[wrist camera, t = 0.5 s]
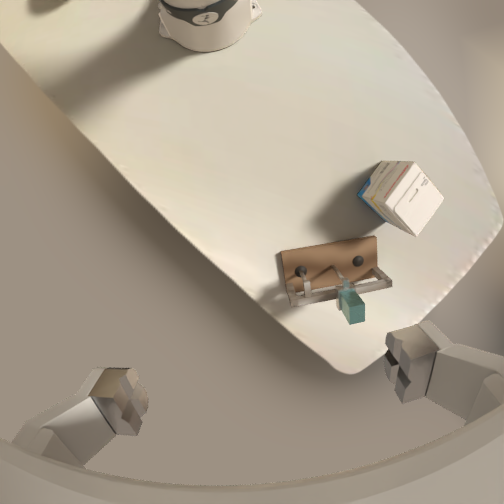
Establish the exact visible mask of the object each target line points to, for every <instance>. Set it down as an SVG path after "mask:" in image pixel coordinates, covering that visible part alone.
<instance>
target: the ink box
mask: <svg viewBox="0 0 504 504" xmlns="http://www.w3.org/2000/svg"><path fill="white" fill-rule="evenodd" d="M357 196H358V197H360V198H361V199H362V200H363V201H364V202H365V203H366V204H367V205H368V206H369V207H370V208H371V209H372V210H373V211H375V212H376V213H377V214H378V215H379V216H380V217H381V218H382V219H384V220H385V221H386V222H388V223H390V224H392V225H394V226H396V227H398V228H399V229H401V230H403V231H405V232H407V233H409V234H411V235H413V236H415V237H417V235H418V234H419V233H420V231H421V230H422V229H423V227H424V226H425V225H426V223H427V222H428V221H429V219H430V218H431V217H432V215H433V214H434V213H435V211H436V210H437V208H438V207H439V206H440V204H441V203H442V201H443V200H444V198H443V196H442V195H441V193H440V192H439V190H438V189H437V188H436V186H435V185H434V184H433V182H432V181H431V180H430V179H429V177H428V176H427V175H426V174H425V173H424V172H423V170H422V169H421V168H420V167H419V166H418V165H417V164H416V162H411V161H381V163H380V164H379V166H378V167H377V168H376V170H375V171H374V172H373V174H372V175H371V177H370V178H369V179H368V181H367V182H366V184H365V185H364V186H363V188H362V189H361V190H360V192H359V193H358V194H357Z"/></svg>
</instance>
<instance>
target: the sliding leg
mask: <svg viewBox="0 0 504 504" xmlns="http://www.w3.org/2000/svg"><path fill="white" fill-rule="evenodd" d="M332 269H333V270H334V271H335V273H336V274H337V276H338V277H339V278H340V280H341V281H342V286H336V287H335V288H336V306H337V308H338V310H339V311H340V310H342V312H343V314H344V315H345V317H346V319H347V321H348V323H349V324H350V325H351V324H355V323H360V322H364V321H365V303H364V302H363V301H362V299H361V298H360V297H359V295H358V294H357V292H356V287H355V285H354V284H353V283H352V284H349V279H348V278H347V277H346V278H344V277H343V275H342V274H341V273H340V271H339V270H338V269H337V267H336V266H335V265H332Z"/></svg>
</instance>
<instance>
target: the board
mask: <svg viewBox="0 0 504 504" xmlns="http://www.w3.org/2000/svg"><path fill="white" fill-rule="evenodd" d="M281 256H282V263H283V269H284V276H285V283H286V290H287V294H288V296H289V300H290V304H291V307H295V306H301V305H306V304H312V303H317V302H322V301H328V300H333V299H336V289H333V290H328V291H323V292H317V293H312V294H311V290H313V289H318V288H323V287H329V286H334V285H339V284H342V281H341V280H340V278H339V277H338V276H337V274H336V273H335V271H334V270H333V269H332V265H335V266H336V267H337V269H338V270H339V271H340V273H341V274H342V275H343V277H344V278H346V277H347V278H348V279H349V282H354V281H359V280H364V279H369V278H374V277H376V278H377V279H378V280H377V281H373V282H368V283H363V284H358V285H355V287H356V292H357V294H362V293H367V292H371V291H376V290H380V289H385V288H389V287H392V280H391V279H390V278H389V277H388V276H387V275H386V274H385V273H384V272H383V271H382V270H380V269H379V268H378V267H377V237H376V236H368V237H362V238H356V239H351V240H345V241H339V242H333V243H327V244H321V245H315V246H309V247H303V248H297V249H291V250H285V251H281ZM301 291H304V295H301V296H297V295H296V292H301Z"/></svg>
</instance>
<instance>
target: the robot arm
mask: <svg viewBox="0 0 504 504" xmlns="http://www.w3.org/2000/svg"><path fill="white" fill-rule="evenodd" d="M159 1H160V3H158V8H159V9H160V12H159V17H160V26H159V33H160V35H161V36H162V37H165V38H170V39H173V40H175V41H177V42H178V43H179V44H180V45H182V46H183V47H185V48H187V49H190V50H194V51H200V52H210V51H216V50H220V49H223V48H226V47H228V46H230V45H232V44H234V43H235V42H237V41H238V40H239V39H240V38H241V37H242V36H243V35H244V34H245V32H246V31H247V29H248V27H249V26H250V24H251V23H252V22H254V21H255V20H257V19H258V18H259V17H261V15H262V10H261V8H260V6H259V4H258V2H257V1H256V0H159ZM252 7H255V8H254V9H252ZM385 344H386V345H387V347H388V350H387V352H386V353H385V355H384V367H385V372H386V375H387V378H388V379H389V381H390V382H392V383H394V384H396V385H395V392H396V394H397V396H398V397H399V399H400V401H401V402H402V404H404V403H407V402H410V401H413V400H416V399H419V398H422V397H424V396H426V398H428V399H430V400H431V401H433V402H435V403H436V404H438V405H440V406H442V407H443V408H445V409H447V410H449V411H451V412H452V413H454V414H456V415H458V416H460V417H461V418H463V419H465V420H466V422H465V425H464V426H463V427H461V428H460V429H457V430H455V431H454V432H451V433H449V434H447V435H445V436H443V437H441V438H438V439H436V440H434V441H432V442H429V443H427V444H425V445H423V446H420V447H417V448H415V449H412V450H410V451H407V452H404V453H401V454H399V455H396V456H393V457H390V458H387V459H384V460H381V461H378V462H374V463H371V464H368V465H364V466H360V467H357V468H353V469H349V470H345V471H341V472H336V473H332V474H327V475H322V476H316V477H311V478H305V479H299V480H292V481H284V482H276V483H265V484H253V485H229V486H227V485H226V486H206V485H184V484H183V485H182V484H170V483H160V482H152V481H144V480H137V479H131V478H125V477H120V476H114V475H109V474H105V473H100V472H96V471H92V470H88V469H86V468H85V467H84V466H83V465H84V464H86V463H87V462H88V461H89V460H90V459H91V458H92V457H93V456H94V455H96V454H97V453H98V452H99V451H100V450H101V449H102V448H103V447H104V446H105V445H107V444H108V443H109V442H110V441H111V440H112V439H113V438H114V437H115V436H116V434H117V435H130V436H137V435H138V433H139V430H140V427H141V425H142V420H141V418H140V417H141V416H143V415H144V414H145V413H146V411H147V409H148V395H147V392H146V390H145V388H144V387H143V386H142V385H141V384H139V383H138V380H139V376H138V374H137V372H136V370H135V369H133V368H111V367H109V368H106V367H97V368H94V369H93V370H92V372H91V373H90V375H89V376H88V378H87V379H86V380H85V382H84V383H83V385H82V386H81V388H80V389H79V391H78V392H77V394H76V395H71V396H69V397H68V398H66V399H64V400H62V401H61V402H59V403H57V404H56V405H54V406H52V407H50V408H49V409H47V410H45V411H44V412H42V413H40V414H38V415H37V416H35V417H33V418H31V419H29V420H28V421H26V422H25V424H24V425H23V426H22V428H21V429H20V431H19V432H18V434H17V435H16V437H15V438H14V439H13V441H12V442H8V441H6V440H4V439H2V438H0V504H504V356H500V355H496V354H492V353H489V352H486V351H482V350H478V349H475V348H472V347H468V346H464V345H461V344H455V345H454V344H453V343H452V342H451V341H450V340H449V339H448V338H447V337H446V336H445V335H444V334H443V333H442V332H441V331H440V330H439V329H438V328H437V327H436V326H435V325H434V324H433V323H432V322H431V321H428V320H427V321H424V322H421V323H418V324H415V325H413V326H410V327H406V328H403V329H400V330H396V331H392V332H389V333H387V336H386V342H385Z"/></svg>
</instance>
